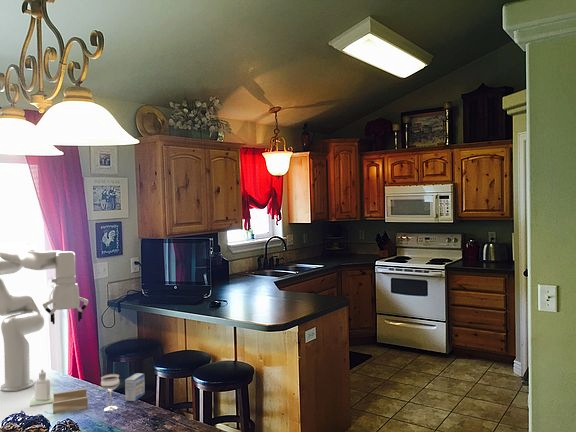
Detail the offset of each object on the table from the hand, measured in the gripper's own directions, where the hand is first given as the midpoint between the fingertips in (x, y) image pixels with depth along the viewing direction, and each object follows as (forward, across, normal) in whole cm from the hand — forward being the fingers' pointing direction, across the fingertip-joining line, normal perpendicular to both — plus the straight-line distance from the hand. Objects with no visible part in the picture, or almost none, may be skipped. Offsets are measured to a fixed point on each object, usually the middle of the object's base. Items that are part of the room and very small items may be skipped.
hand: (66, 322), depth 197 cm
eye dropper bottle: (+30, -9, -2) cm, 31 cm away
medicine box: (+31, +25, -16) cm, 43 cm away
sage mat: (+30, -9, -2) cm, 32 cm away
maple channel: (+30, +1, -13) cm, 33 cm away
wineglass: (+31, +15, -23) cm, 41 cm away
